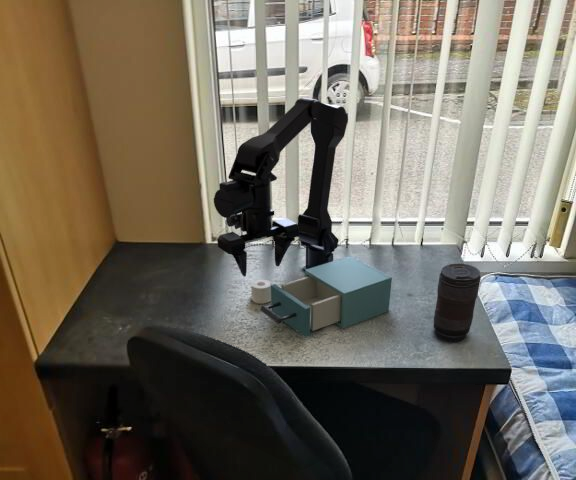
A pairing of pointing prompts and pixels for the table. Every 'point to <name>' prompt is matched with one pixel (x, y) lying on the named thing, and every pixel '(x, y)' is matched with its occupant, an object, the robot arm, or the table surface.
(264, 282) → the label roll
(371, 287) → the teal cabinet
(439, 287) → the camera lens
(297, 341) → the table surface
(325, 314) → the drawer
